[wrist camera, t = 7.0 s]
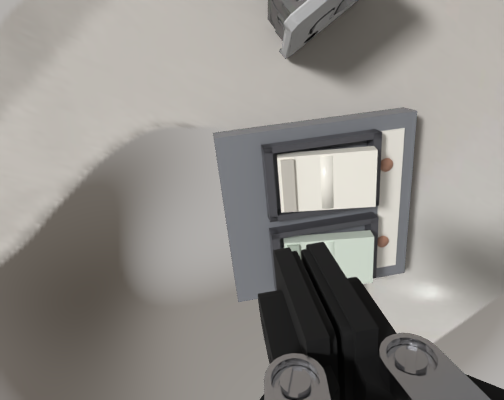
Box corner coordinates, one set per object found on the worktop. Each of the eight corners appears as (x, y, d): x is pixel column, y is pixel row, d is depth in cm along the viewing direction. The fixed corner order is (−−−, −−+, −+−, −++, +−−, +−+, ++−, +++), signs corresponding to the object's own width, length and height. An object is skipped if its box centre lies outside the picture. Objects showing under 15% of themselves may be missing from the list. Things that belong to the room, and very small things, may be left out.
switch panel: (403, 107, 37) (426, 113, 33) (393, 261, 44) (411, 280, 40) (213, 132, 35) (214, 141, 31) (236, 288, 42) (239, 310, 39)
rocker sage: (369, 229, 37) (375, 238, 35) (368, 274, 39) (373, 284, 37) (283, 235, 37) (284, 245, 35) (286, 279, 39) (287, 290, 38)
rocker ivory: (373, 145, 33) (378, 151, 31) (371, 200, 35) (376, 208, 33) (277, 153, 34) (277, 159, 32) (281, 205, 36) (281, 214, 34)
